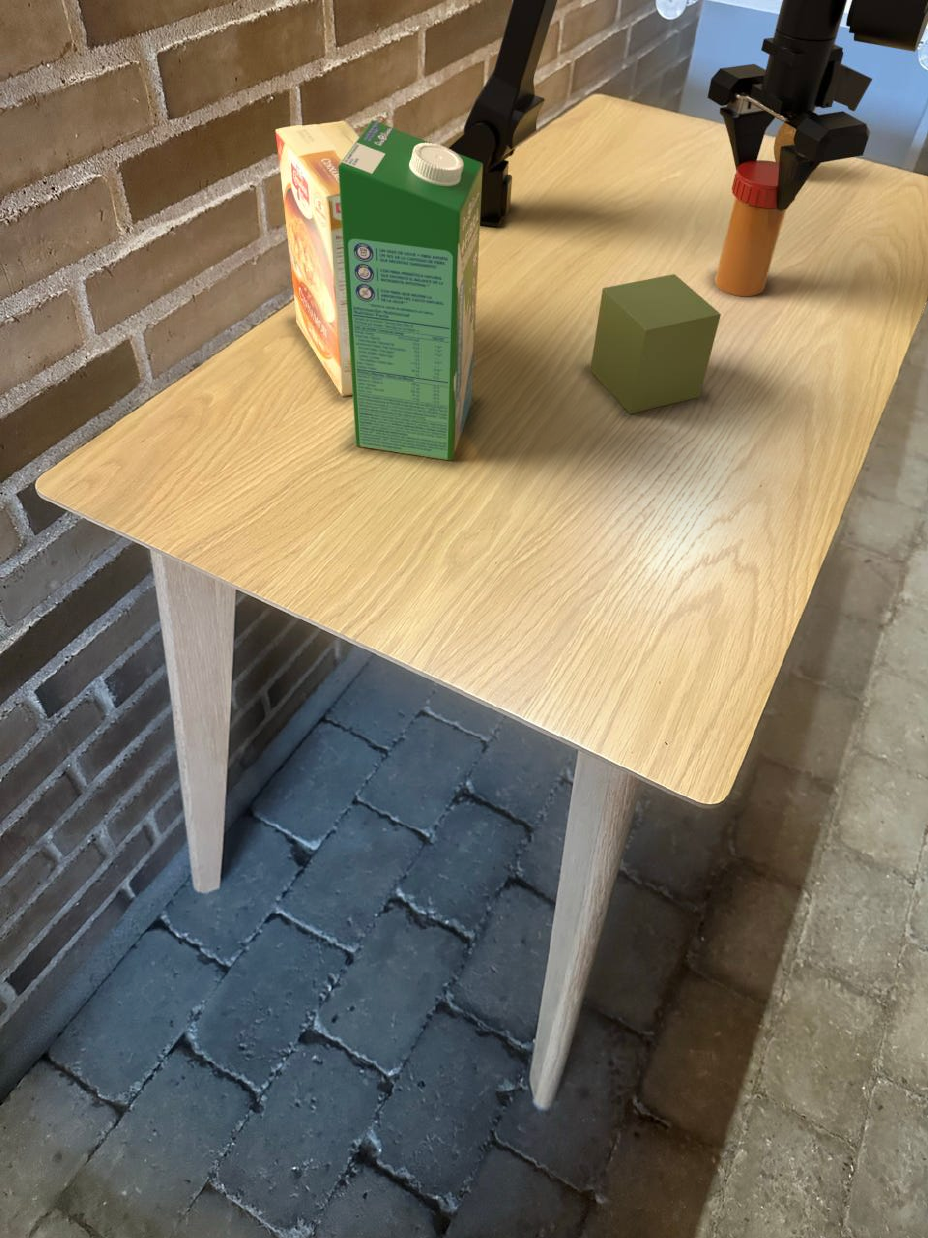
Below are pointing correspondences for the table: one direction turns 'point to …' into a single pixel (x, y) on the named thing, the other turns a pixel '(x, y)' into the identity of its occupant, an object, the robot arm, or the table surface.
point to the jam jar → (748, 248)
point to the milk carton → (410, 289)
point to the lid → (757, 183)
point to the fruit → (783, 139)
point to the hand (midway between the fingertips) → (762, 196)
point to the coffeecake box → (318, 238)
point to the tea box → (653, 342)
